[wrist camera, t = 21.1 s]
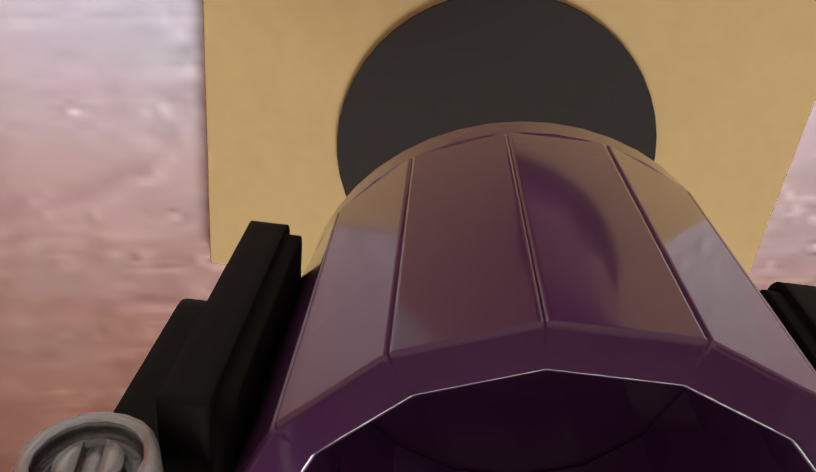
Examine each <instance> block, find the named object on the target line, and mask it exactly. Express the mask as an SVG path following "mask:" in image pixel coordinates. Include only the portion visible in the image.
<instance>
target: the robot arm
mask: <svg viewBox="0 0 816 472" xmlns="http://www.w3.org/2000/svg"><path fill="white" fill-rule="evenodd" d="M301 261H302V237H301V236H299V235H290V228H289V225H286V224H277V223H269V222H260V221H251V222H250V223H249V225H248V226H247V228H246V230H245V232H244V234H243V236H242V238H241V239H240V241H239V243H238V245H237V247H236V249H235V251H234V252H233V254H232V256H231V258H230V260H229V262H228V264H227V265H226V267H225V269H224V271H223V273H222V275H221V276H220V278H219V280H218V282H217V284H216V286H215V288H214V289H213V291H212V293H211V295H210V297H209V299H208V301H203V300H195V299H183V300H182V301H181V302H180V303H179V304H178V306H177V307H176V309H175V310H174V312H173V314H172V315H171V317H170V319H169V320H168V322H167V324H166V325H165V327H164V329H163V330H162V332H161V334H160V335H159V337H158V339H157V340H156V342H155V344H154V345H153V347H152V349H151V350H150V352H149V354H148V355H147V357H146V359H145V360H144V362H143V364H142V365H141V367H140V369H139V370H138V372H137V374H136V375H135V377H134V379H133V380H132V382H131V384H130V385H129V387H128V389H127V390H126V392H125V394H124V395H123V397H122V399H121V400H120V402H119V404H118V405H117V407H116V409H115V410H114V412H113V413H112V412H98V413H86V414H82V415H78V416H75V417H71V418H67V419H64V420H62V421H60V422H58V423H56V424H54V425H52V426H50V427H48V428H46V429H44V430H43V431H41V432H40V433H39V434H37V435H36V436H35V437H34V438H32V439H31V440H30V441H29V442H27V444H26V445H25V446H24V448H23V449H22V450H21V452H20V453H19V454H18V456H17V457H16V459H15V463H14V466H13V469H12V472H233V470H234V467H235V465H236V462H237V459H238V456H239V453H240V450H241V448H242V445H243V442H244V439H245V436H246V433H247V430H248V428H249V425H250V422H251V419H252V416H253V413H254V410H255V408H256V405H257V402H258V399H259V396H260V393H261V390H262V388H263V385H264V382H265V379H266V376H267V373H268V370H269V368H270V365H271V362H272V359H273V356H274V353H275V350H276V348H277V345H278V342H279V339H280V336H281V333H282V331H283V328H284V325H285V322H286V319H287V316H288V313H289V311H290V308H291V305H292V302H293V299H294V296H295V293H296V291H297V288H298V285H299V282H300V279H301ZM760 293H761V294H762V295H763V297H764V298H765V300H766V301H767V303H768V304H769V305H770V307H771V308H772V310H773V311H774V313H775V314H776V315H777V317H778V318H779V320H780V321H781V323H782V324H783V325H784V327H785V328H786V330H787V331H788V332H789V334H790V335H791V337H792V338H793V340H794V341H795V342H796V344H797V345H798V347H799V348H800V350H801V351H802V352H803V354H804V355H805V357H806V358H807V360H808V361H809V362H810V364H811V365H812V367H813V368H814V369H815V371H816V287H815V286H808V285H799V284H791V283H782V282H776V283H773V284H772V285H771V286H770V287H769V288H768V290H761V291H760Z"/></svg>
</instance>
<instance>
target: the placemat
mask: <svg viewBox="0 0 816 472" xmlns="http://www.w3.org/2000/svg"><path fill="white" fill-rule="evenodd" d="M203 21H204V55H205V89H206V123H207V157H208V190H209V224H210V258H211V262H212V263H220V264H228V262H229V260H230V258H231V256H232V254H233V252H234V251H235V249H236V247H237V245H238V243H239V241H240V239H241V238H242V236H243V234H244V232H245V230H246V228H247V226H248V225H249V223H250V222H251V221H260V222H269V223H277V224H286V225H289V228H290V235H299V236H301V237H302V261H301V273H304V271H305V269H306V267H307V266H308V264H309V262H310V260H311V258H312V255H313V252H314V249H315V247H316V245H317V243H318V241H319V239H320V236H321V234H322V232H323V230H324V228H325V226H326V225H327V223H328V222H329V220H330V218H331V217H332V215H333V214H334V212H335V211H336V209H337V208H338V206H339V205H340V204H341V203H342V202H343V201H344V199H345V198H346V197H347V196H348V195H349V194H350V193H351V191H352V190H353V189H354V188H355V187H356V186H357V185H358V184H359V183H360V182H362V181H363V180H364V179H365V178H366V177H367V176H369V175H370V174H371V173H372V172H373V171H374V170H376V169H377V168H378V167H380V166H381V165H383V164H384V163H386V162H387V161H389V160H390V159H392V158H393V157H395V156H397V155H398V154H400V153H401V152H403V151H405V150H407V149H409V148H411V147H413V146H416V145H418V144H420V143H422V142H424V141H426V140H428V139H431V138H434V137H437V136H440V135H443V134H446V133H449V132H452V131H455V130H458V129H463V128H468V127H473V126H478V125H484V124H489V123H503V122H517V121H525V122H543V123H555V124H560V125H566V126H571V127H576V128H582V129H585V130H588V131H591V132H594V133H598V134H601V135H604V136H607V137H610V138H612V139H615V140H617V141H619V142H621V143H623V144H625V145H627V146H629V147H631V148H633V149H636V150H638V151H639V152H641V153H642V154H644V155H645V156H647V157H648V158H650V159H651V160H653V161H654V162H656V163H657V164H659V165H660V166H662V167H663V168H664V169H665V170H666V171H667V172H668V173H669V174H671V175H672V176H673V177H674V178H675V179H676V180H677V181H678V182H679V183H681V184H682V185H683V187H684V188H685V189H686V190H687V191H688V192H690V193H691V194H692V196H693V197H694V199H695V200H696V202H697V203H698V204H699V206H700V207H701V209H702V210H703V211H704V213H705V214H706V216H707V217H708V219H709V220H710V221H711V223H712V224H713V226H714V227H715V229H716V230H717V231H718V233H719V234H720V236H721V237H722V239H723V240H724V241H725V243H726V244H727V246H728V247H729V248H730V250H731V251H732V253H733V254H734V256H735V257H736V258H737V260H738V261H739V263H740V264H741V266H742V267H743V268H744V270H745V271H746V273H747V274H749V271H750V268H751V266H752V263H753V261H754V258H755V255H756V253H757V250H758V248H759V245H760V242H761V240H762V237H763V235H764V232H765V229H766V227H767V224H768V222H769V219H770V216H771V214H772V211H773V209H774V206H775V203H776V201H777V198H778V196H779V193H780V190H781V188H782V185H783V183H784V180H785V177H786V175H787V172H788V170H789V167H790V164H791V162H792V159H793V157H794V154H795V151H796V149H797V146H798V144H799V141H800V138H801V136H802V133H803V131H804V128H805V125H806V123H807V120H808V118H809V115H810V112H811V110H812V107H813V105H814V102H815V99H816V0H203Z"/></svg>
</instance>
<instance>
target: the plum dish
mask: <svg viewBox="0 0 816 472" xmlns="http://www.w3.org/2000/svg"><path fill="white" fill-rule="evenodd" d="M233 472H816V371H815V369H814V368H813V367H812V365H811V364H810V362H809V361H808V360H807V358H806V357H805V355H804V354H803V352H802V351H801V350H800V348H799V347H798V345H797V344H796V342H795V341H794V340H793V338H792V337H791V335H790V334H789V332H788V331H787V330H786V328H785V327H784V325H783V324H782V323H781V321H780V320H779V318H778V317H777V315H776V314H775V313H774V311H773V310H772V308H771V307H770V305H769V304H768V303H767V301H766V300H765V298H764V297H763V295H762V294H761V293H760V291H759V290H758V288H757V287H756V285H755V284H754V283H753V281H752V280H751V278H750V277H749V276H748V274H747V273H746V271H745V270H744V268H743V267H742V266H741V264H740V263H739V261H738V260H737V258H736V257H735V256H734V254H733V253H732V251H731V250H730V248H729V247H728V246H727V244H726V243H725V241H724V240H723V239H722V237H721V236H720V234H719V233H718V231H717V230H716V229H715V227H714V226H713V224H712V223H711V221H710V220H709V219H708V217H707V216H706V214H705V213H704V211H703V210H702V209H701V207H700V206H699V204H698V203H697V202H696V200H695V199H694V197H693V196H692V194H691V193H690V192H688V191H687V190H686V189H685V188H684V187H683V185H682V184H681V183H679V182H678V181H677V180H676V179H675V178H674V177H673V176H672V175H671V174H669V173H668V172H667V171H666V170H665V169H664V168H663V167H662V166H660V165H659V164H657V163H656V162H654V161H653V160H651V159H650V158H648V157H647V156H645V155H644V154H642V153H641V152H639V151H638V150H636V149H633V148H631V147H629V146H627V145H625V144H623V143H621V142H619V141H617V140H615V139H612V138H610V137H607V136H604V135H601V134H598V133H594V132H591V131H588V130H585V129H582V128H576V127H571V126H566V125H560V124H555V123H543V122H525V121H517V122H503V123H489V124H484V125H478V126H473V127H468V128H463V129H458V130H455V131H452V132H449V133H446V134H443V135H440V136H437V137H434V138H431V139H428V140H426V141H424V142H422V143H420V144H418V145H416V146H413V147H411V148H409V149H407V150H405V151H403V152H401V153H400V154H398V155H397V156H395V157H393V158H392V159H390V160H389V161H387V162H386V163H384V164H383V165H381V166H380V167H378V168H377V169H376V170H374V171H373V172H372V173H371V174H370V175H369V176H367V177H366V178H365V179H364V180H363V181H362V182H360V183H359V184H358V185H357V186H356V187H355V188H354V189H353V190H352V191H351V193H350V194H349V195H348V196H347V197H346V198H345V199H344V201H343V202H342V203H341V204H340V205H339V206H338V208H337V209H336V211H335V212H334V214H333V215H332V217H331V218H330V220H329V222H328V223H327V225H326V226H325V228H324V230H323V232H322V234H321V236H320V239H319V241H318V243H317V245H316V247H315V249H314V252H313V255H312V258H311V260H310V262H309V264H308V266H307V267H306V269H305V271H304V273H303V275H302V276H301V279H300V282H299V285H298V288H297V291H296V293H295V296H294V299H293V302H292V305H291V308H290V311H289V313H288V316H287V319H286V322H285V325H284V328H283V331H282V333H281V336H280V339H279V342H278V345H277V348H276V350H275V353H274V356H273V359H272V362H271V365H270V368H269V370H268V373H267V376H266V379H265V382H264V385H263V388H262V390H261V393H260V396H259V399H258V402H257V405H256V408H255V410H254V413H253V416H252V419H251V422H250V425H249V428H248V430H247V433H246V436H245V439H244V442H243V445H242V448H241V450H240V453H239V456H238V459H237V462H236V465H235V467H234V470H233Z"/></svg>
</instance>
